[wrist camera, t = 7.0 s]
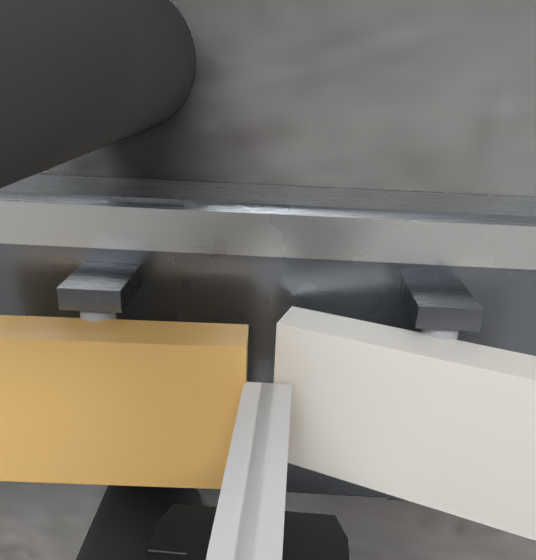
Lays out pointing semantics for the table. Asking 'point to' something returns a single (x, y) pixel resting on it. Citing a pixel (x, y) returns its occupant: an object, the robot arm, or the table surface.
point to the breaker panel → (271, 262)
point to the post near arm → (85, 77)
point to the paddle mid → (118, 400)
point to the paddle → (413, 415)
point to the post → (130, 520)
